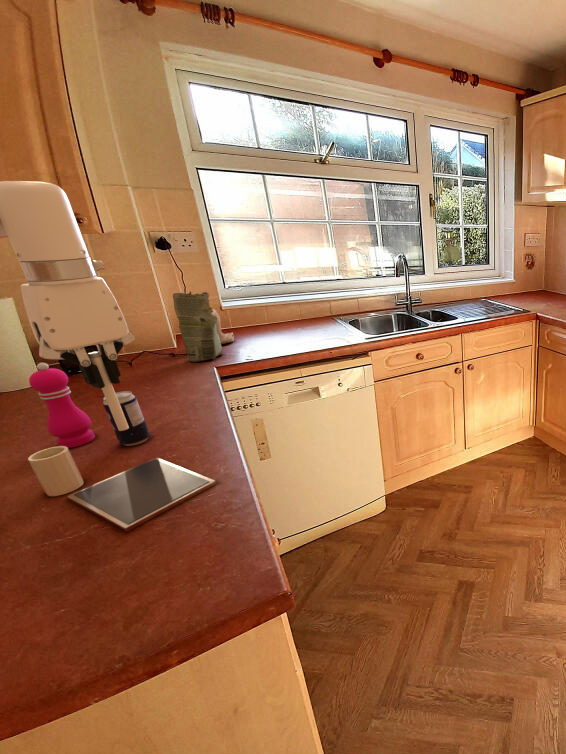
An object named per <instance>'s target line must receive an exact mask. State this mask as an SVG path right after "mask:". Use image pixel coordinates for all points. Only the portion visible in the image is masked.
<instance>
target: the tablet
mask: <svg viewBox="0 0 566 754" xmlns="http://www.w3.org/2000/svg"><path fill="white" fill-rule="evenodd" d="M216 485H217V481H216V479H213V478H210V477H207V476H206V475H202V474H200V473H198V472H195V471H192V470H190V469H188V468H184V467H182V466H180V465H177V464H175V463H173V462H170V461H167V460H164V459H162V458H160V457H157V456H155V458H152V459H149V460H147V461H145V462H143V463H140V464H138V465H135V466H134V467H131V468H128V469H127V470H124V471H121V472H120V473H117V474H115V475H113V476H110V477H108V478H106V479H103V480H101V481H99V482H96V483H94V484H92V485H90V486H88V487H84V488H83V489H80V490H78V491H75V492H74V493H71V494H69V495H67V497H66V498H68V500H69V501H71V502H72V503H74V504H76V505H78V506H80V507H82V508H83V509H85V510H87V511H89V512H91V513H93V514H94V515H96V516H97V517H100V518H101V519H103V520H105V521H107V522H108V523H110V524H112V525H114V526H116V527H117V528H119V529H121V530H123V531H125V532H126V533H128V532H129V531H131V530H133V529H135V528H137V527H139V526H141V525H143V524H145V523H146V522H148V521H150V520H151V519H153V518H156V517H157V516H160V515H161V514H163V513H165V512H167V511H169V510H171V509H172V508H174V507H176V506H178V505H180V504H181V503H184V502H186V501H188V500H190V499H191V498H193V497H195V496H197V495H199V494H201V493H203V492H204V491H206V490H208V489H209V488H212V487H213V486H216Z"/></svg>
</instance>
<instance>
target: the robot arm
mask: <svg viewBox="0 0 566 754" xmlns="http://www.w3.org/2000/svg"><path fill="white" fill-rule="evenodd" d="M6 236H7V238H8V240H9V243H10V244H11V246H12V250H13V251H14V254H15V256H16V259H17V261H18V263H19V265H20V267H21V269H22V272H23V274H24V277H25V279H26V281H27V283H23V284H20V291H21V297H22V301H23V306H24V310H25V312H26V316H27V319H28V321H29V325H30V328H31V331H32V333H33V336H34V338H35V340H36V342H37V344H38V345H39V347H38V348H39V349H38V356H39V357H40V358H42V359H44V360H57V361H58V360H64V361H67V362H70V363H72V364H75V365H78V367H79V370H80V372H81V374H82V377H83V379H84V381H85V383H86V385H90V386H91V387H93V388H97V389H102V388H104V386H105V384H104V382H103V379H102V377H101V374H100V372H99V370H98V367H97V365H94V364H93V363H92V361H90V358H89V357H88V353H87V351H86V348H85V347H88V346H94V345H96V347H97V352H100V355H101V358H102V360H103V363H104V365H105V368H106V371H107V373H108V376H109V378H110V381H111V383H112V385H113V384H114V385H118V384H121V381H120V378H119V377H121V372H120V369H119V367H118V364H117V362H116V360H117V359H118V355H119V353H120V352H121V350H122V349H123V347H125V346H127V345H129V344H131V343H132V342H135V340H136V336H135V335H134V334H133V333H132V332H131V331H130V329H129V326H128V324H127V321H126V318H125V316H124V314H123V312H122V309H121V307H120V305H119V303H118V301H117V300H116V297H115V296H114V294H113V292H112V290H111V289H110V287H109V286H108V284H107V283H106V281H105V280H104V278H103V277H99V276H98V275H99V273H98V271H100V270H105V269H106V267H105V263H104V262H103V261H102V260H94V259H93V257H90V254H89V251H88V248H87V246H86V243H85V241H84V238H83V235H82V233H81V230H80V227H79V225H78V222H77V219H76V216H75V213H74V211H73V208H72V205H71V203H70V200H69V198H68V195H67V193H66V192H65V191H64V189H63V188H62V187H60V186H59V185H57V184H54V183H50V182H44V181H31V180H30V181H28V180H27V181H26V180H24V181H23V180H3V181H2V180H1V181H0V237H6Z"/></svg>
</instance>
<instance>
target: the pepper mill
mask: <svg viewBox="0 0 566 754" xmlns="http://www.w3.org/2000/svg"><path fill="white" fill-rule="evenodd" d="M49 367H50V366H49V364H48V363H47V362H39V363H38V364H37V365H36V368H37V370H36V371H35V372H33V373H32V374H31V375H30V376H29V378H28V382H29V386H30V387H31V388H32V389H33V390H36V391H37V392H38V393H37V395H38V396H39V399H40V400H43V401H44V402H45V404H46V406H47V408H48V417H47V423H46V429H47V431H48V433H49V434H50V435H51V436H53V437H56V443H57V446H66V447H68V449H71V448H76V447H80V446H83V445H86V444H88V443H90V442H92V441H93V440H94V439H95V438H96V435H95V433H94V431H93V430H92V429H90V428H91V426H92V420H91V417H89V415H87V413H86V412H84V411H83V410H81V409H80V408H79V407H77V406H76V405H75V403H74V402H73V400H72V398H71V395H70V394H71V393H72V391H71V389H70V387H69V386H68V383H69V377H68V374H67V373H66V372H65V371H63V370H61V369H58V368H54V367H53V368H51V367H50V368H49Z"/></svg>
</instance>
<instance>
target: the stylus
mask: <svg viewBox="0 0 566 754" xmlns="http://www.w3.org/2000/svg"><path fill="white" fill-rule="evenodd" d="M87 355H88V357H89V359H90V361H92V363H93V364H94V365H97V367H98V370H99V372H100V374H101V377H102V379H103V382H104V384H105V386H104V388H101V390H102V393H103V395H104V397H105V398H106V400H107V403H108V405H109V408H110V410H111V413H112V415H113V418H114V420H115V423H116V425H117V427H118V430H119V431H123V430H126V429H128V428H129V426H128V424H127V421H126V418H125V416H124V413H123V411H122V408H121V406H120V403H119V401H118V398H117V396H116V393H117V392H116V391H115V388H114V386H113V383H111V381H110V378H109V376H108V373H107V371H106V368H105V365H104V363H103V360H102V358H101V355H100V352H99V351H91V352H88V353H87Z"/></svg>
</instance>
